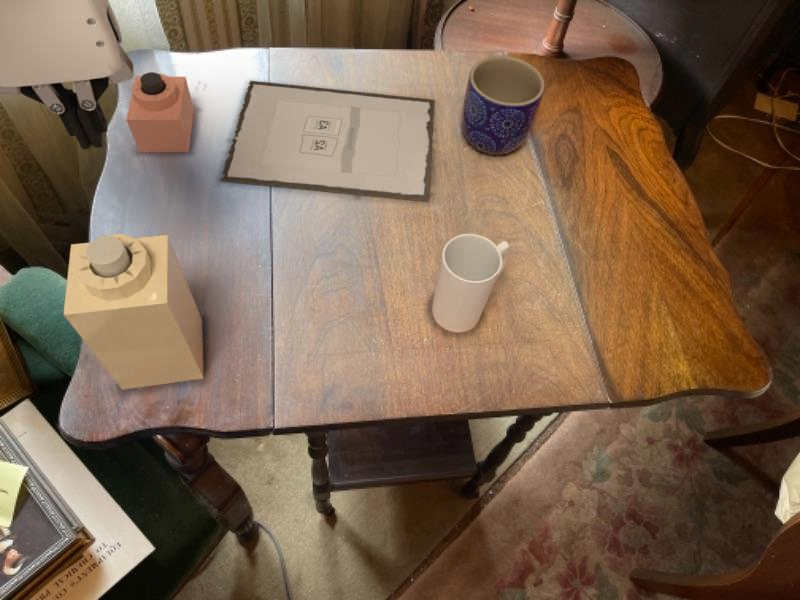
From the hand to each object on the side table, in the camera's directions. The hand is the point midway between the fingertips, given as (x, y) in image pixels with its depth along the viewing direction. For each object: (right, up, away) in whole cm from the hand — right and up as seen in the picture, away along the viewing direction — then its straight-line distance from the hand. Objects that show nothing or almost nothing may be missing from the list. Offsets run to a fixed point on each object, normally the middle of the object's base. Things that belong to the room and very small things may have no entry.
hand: (92, 136), depth 54 cm
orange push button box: (-8, +11, +37) cm, 39 cm away
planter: (+42, +11, +42) cm, 60 cm away
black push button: (-7, +15, +31) cm, 35 cm away
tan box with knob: (-1, -21, +18) cm, 28 cm away
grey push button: (+1, -11, +2) cm, 11 cm away
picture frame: (+17, +10, +39) cm, 44 cm away
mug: (+36, -15, +25) cm, 46 cm away
